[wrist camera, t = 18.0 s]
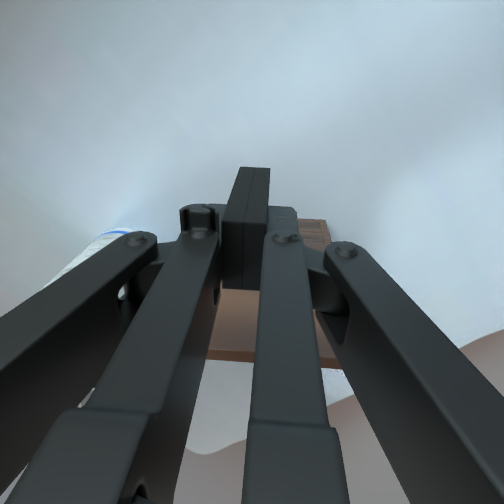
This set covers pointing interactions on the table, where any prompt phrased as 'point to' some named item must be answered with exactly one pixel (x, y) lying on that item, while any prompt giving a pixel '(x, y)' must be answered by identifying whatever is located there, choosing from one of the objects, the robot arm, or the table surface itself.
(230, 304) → the lid
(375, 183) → the table surface
